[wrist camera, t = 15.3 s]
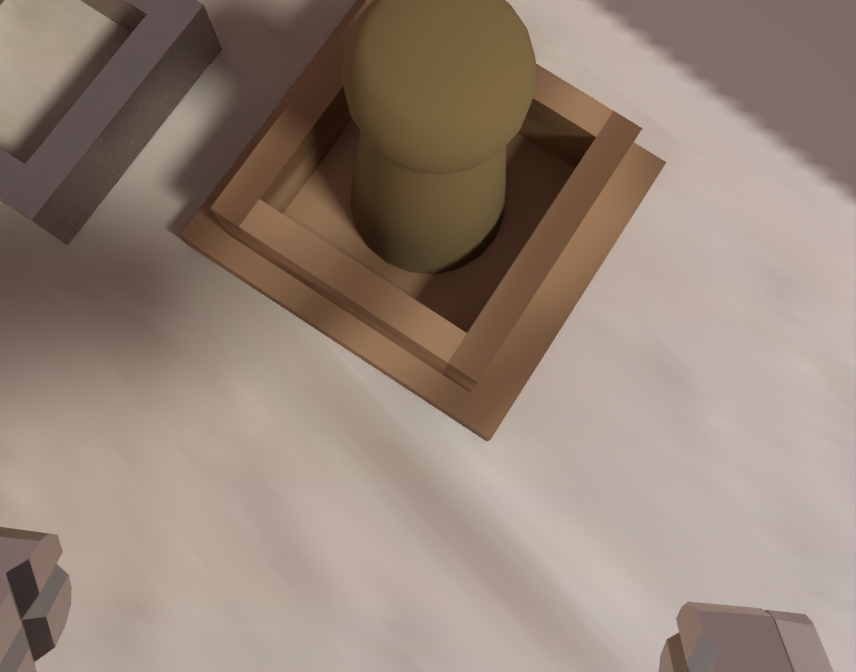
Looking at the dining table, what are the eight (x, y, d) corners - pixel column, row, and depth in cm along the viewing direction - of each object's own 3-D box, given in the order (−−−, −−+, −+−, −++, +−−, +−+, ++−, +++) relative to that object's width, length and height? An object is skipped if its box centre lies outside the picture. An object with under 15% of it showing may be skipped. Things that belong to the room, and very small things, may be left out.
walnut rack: (188, 244, 31) (154, 207, 27) (372, -1, 33) (368, -70, 29) (487, 441, 30) (500, 435, 26) (656, 173, 32) (694, 128, 28)
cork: (371, 110, 31) (354, -91, 20) (520, 146, 31) (584, -38, 20) (332, 253, 30) (291, 122, 19) (487, 290, 29) (536, 179, 19)
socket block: (-136, 109, 31) (-192, 70, 28) (25, -76, 33) (-12, -131, 30) (67, 244, 31) (31, 219, 28) (221, 48, 32) (203, 4, 29)
